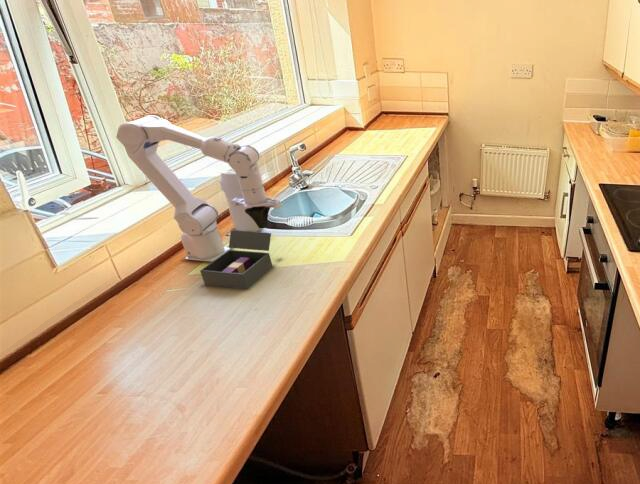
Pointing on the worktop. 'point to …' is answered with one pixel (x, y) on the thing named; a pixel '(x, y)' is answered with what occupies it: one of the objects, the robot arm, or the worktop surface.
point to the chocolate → (239, 265)
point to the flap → (250, 240)
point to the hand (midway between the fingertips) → (263, 226)
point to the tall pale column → (237, 213)
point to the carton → (236, 280)
